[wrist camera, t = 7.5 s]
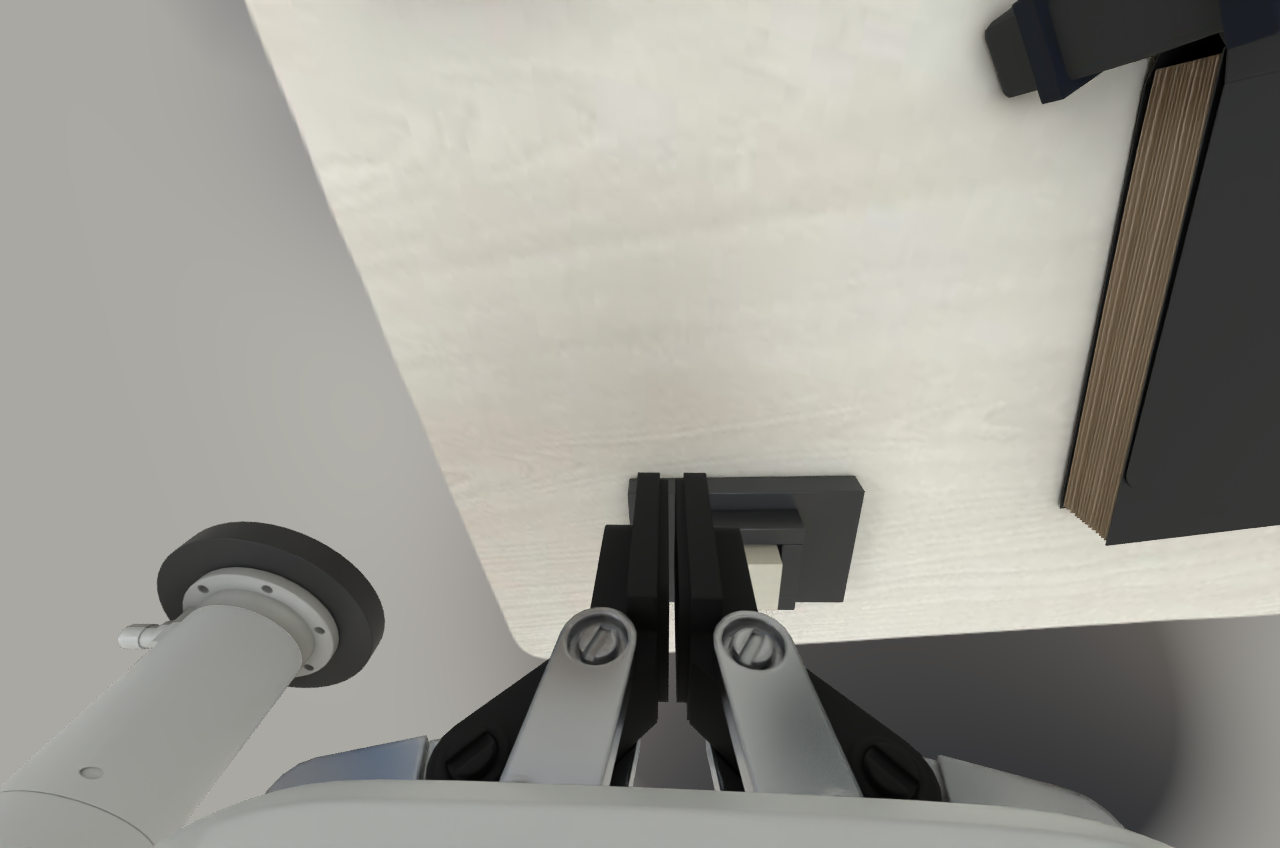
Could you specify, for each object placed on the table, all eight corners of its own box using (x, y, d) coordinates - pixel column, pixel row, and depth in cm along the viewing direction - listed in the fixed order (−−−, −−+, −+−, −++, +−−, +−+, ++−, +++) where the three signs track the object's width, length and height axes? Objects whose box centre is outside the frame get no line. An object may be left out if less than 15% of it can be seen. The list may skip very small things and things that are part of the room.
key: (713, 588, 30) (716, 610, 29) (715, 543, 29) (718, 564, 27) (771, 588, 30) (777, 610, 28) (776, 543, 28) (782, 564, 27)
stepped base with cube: (636, 583, 35) (633, 623, 31) (629, 478, 31) (625, 512, 27) (835, 583, 34) (852, 624, 31) (855, 475, 30) (877, 509, 27)
